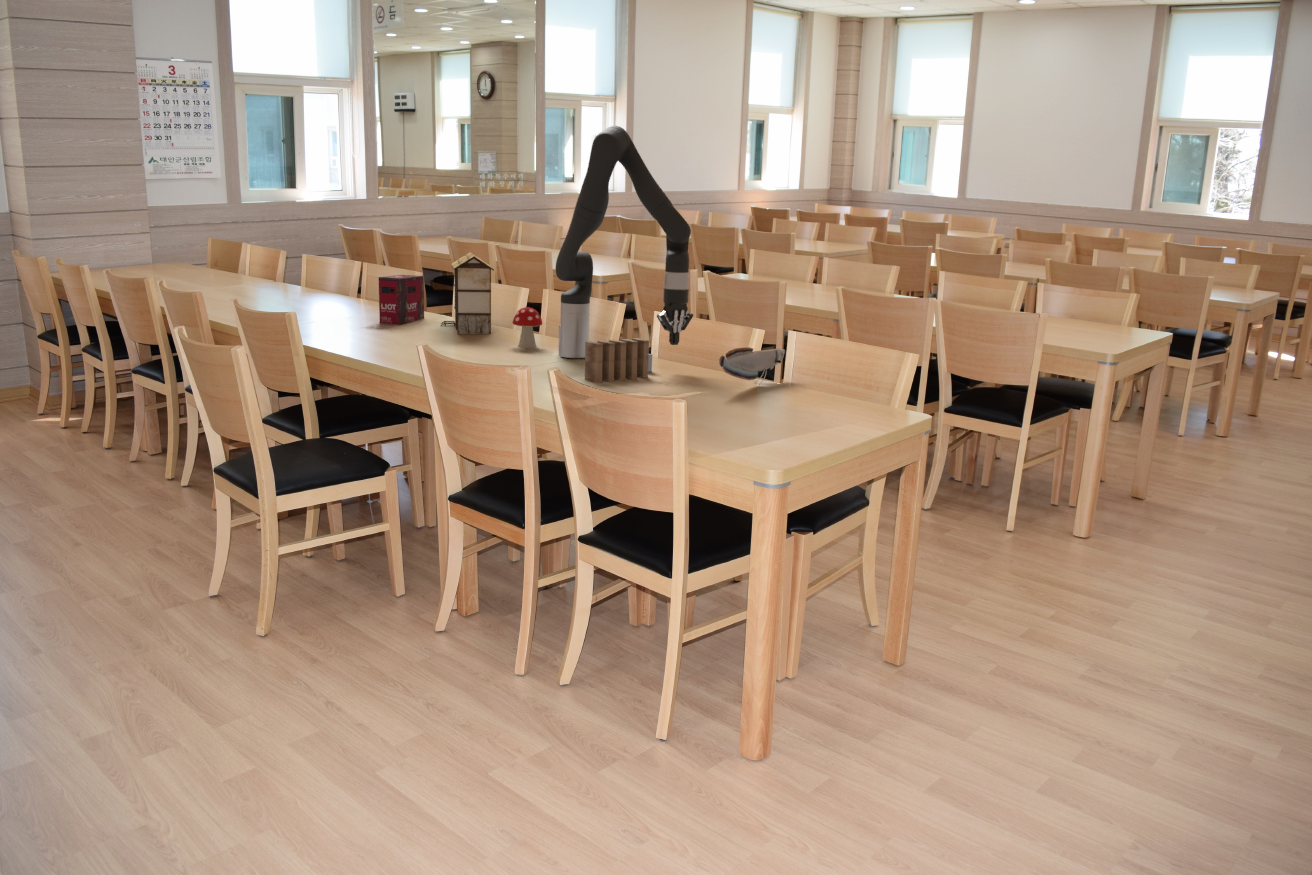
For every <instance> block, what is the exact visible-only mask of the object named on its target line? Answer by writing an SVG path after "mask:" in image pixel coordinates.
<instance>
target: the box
mask: <svg viewBox="0 0 1312 875" xmlns="http://www.w3.org/2000/svg"><path fill="white" fill-rule="evenodd" d="M424 280H425V279H424V276H423V275H412V274H411V275H410V274H397V275H388V276H386V275H385V276H378V304H379V305H378V306H379V307H378V309H379V312H378V313H379V324H384V325H385V324H386V325H396V326H398V325H399V326H402V325H406V324H409V323H413V322H416V321H419V320H424V319H425V289H424V288H425V287H424V286H425V284H424V283H425V282H424Z"/></svg>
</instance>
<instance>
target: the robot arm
mask: <svg viewBox="0 0 1312 875" xmlns="http://www.w3.org/2000/svg"><path fill="white" fill-rule="evenodd" d="M591 144H592V145H591V149H590V155H589V161H588V166H587V170H586V173H585V176H584V178H583V182H582V185H581V189H580V191H579V194H578V197H577V200H576V203H575V207H574V210H573V214H572V218H571V222H570V224H569V227H568V229H567V233H566V236H565V238H564V240H563V242H562V246H561V247H560V249H559V252H558V255H557V257H556V260H555V261H556V262H555V274H556V278H558V280H560V281H562V282H575V283H574V285H573V286H572V287H571V288H570V289H568V290H566V291H564V292H562V293H561V295H560V322H559V323H560V325H559V326H558V355H559V356H560V358H561V357H562V358H569V359H585V342H587V341H590V314H591V313H590V312H591V308H590V307H591V305H590V304H591V296H592V292H593V291H592V290H593V278H594V277H593V276H594V275H593V274H594V263H593V257H592V255H591V254H590V253H589V252H587V251H579V250H580V248H581V247H582V245H583V244H584V243H585V242H586V241H587V240H588V239H589V238H590V237H591V236H592V235H593V234H595V232H596V231H597V230H598V229H599V227H600V226H601V225H602V224H603V221H604V219H605V216H606V213H607V209H608V206H609V199H610V198H609V197H610V192H609V189H610V188H609V186H610V185H609V184H610V180H611V177H612V175H613V172H614V170H615V167H616V165H617V163H618V162H619V164H621V165H622V166H623V168H624V169H625V171H626V172H627V174H628V176H629V178H630V180H631V183H632V185H633V188H634V191H635V193H636V196H637V197H638V199H639V201H640V202H641V204H642V205H643V206H644V208H645V210H647V211H648V213H649V215H651V216H652V218H654V220H655V221H656V222H657V223H658V224H659V226H660V227H661V229H662V230H663V231H664V233H665V238H666V239H665V245H666V247H665V248H666V256H665V270H664V271H665V272H664V277H663V303H664V306H663V307H662V310H663V311H662V312H661V313H658V314H656V318H657V320H658V321H659V323H660V325H661V326H662V328H663V330H664V331H667V332H668V333H669V334H668V335H669V336H668V337H669V339H668V343H669V344H670V345H672V346H678V345H679V343H680V333H681V332H683V331H685V330H686V329H687V327H688V326H689V323H690V322H691V320H692V319H693V317H694V314H693V313H691V312H690V311H688V306H687V304H688V303H689V292H690V277H689V272H690V257H689V245H690V244H689V242H690V237H691V234H692V230H691V226H690V224H689V223H688V222H687V221H686V219H685V218H684V217H683V216H682V214H681V213H680V212H679V211H678V210H677V208H675V207H674V204H673V203H672V201H671V200H670V199H669V197H668V195H666V193H665V191H663V189H662V188H661V187H660V185H659V184H658V183H657V181H656V179H655V178H654V177H653V175H652V174H651V171H650V170H649V168H648V167H647V165H646V164H645V162H644V160H643V158H642V157H641V155H640V153H639V151H638V149H637V148H636V147H637V146H636V145H635V143H634V142H633V140H632V138H631V136H630V135H629V133H628V132H627V131H626V130H625V129H624V128H623V127H622V126H618V125H610V126H609V127H607V128H605V129H604V130H602V131H600V132H599V133H598V134H597V135H596V136H595V137H594V138H593V142H592V143H591Z"/></svg>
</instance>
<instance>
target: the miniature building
mask: <svg viewBox="0 0 1312 875" xmlns="http://www.w3.org/2000/svg"><path fill="white" fill-rule="evenodd" d="M450 264H451V265H450V266H451V268H452V269H453V270H454V273H453V274H454V277H453V278H454V280H453V281H454V285H453V287H454V305H453V306H454V307H453V308H454V320H444V321H442V322H441V323H440V327H447V325H453V326H454V327H455V330H456V333H457V335H478V334H479V335H482V334H483V335H484V334H485V335H486V334H487V335H488V334H489V335H490V334H492V271H493V272H494V271H495V269H494V268H493V267H492V266H491V265H490V264H488V262H485V261H484V260H483V259H481V258H480V257H478V256H476V255H475V254H473V253H472V252H468V253H467V254H465V255H463V256H462V257H460V258H458V259H457V260H455V261H454V262H452V263H450Z"/></svg>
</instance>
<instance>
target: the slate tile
mask: <svg viewBox="0 0 1312 875" xmlns="http://www.w3.org/2000/svg"><path fill="white" fill-rule="evenodd" d="M652 370H653V354H651V353H649V357H648V373H650V372H652Z"/></svg>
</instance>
